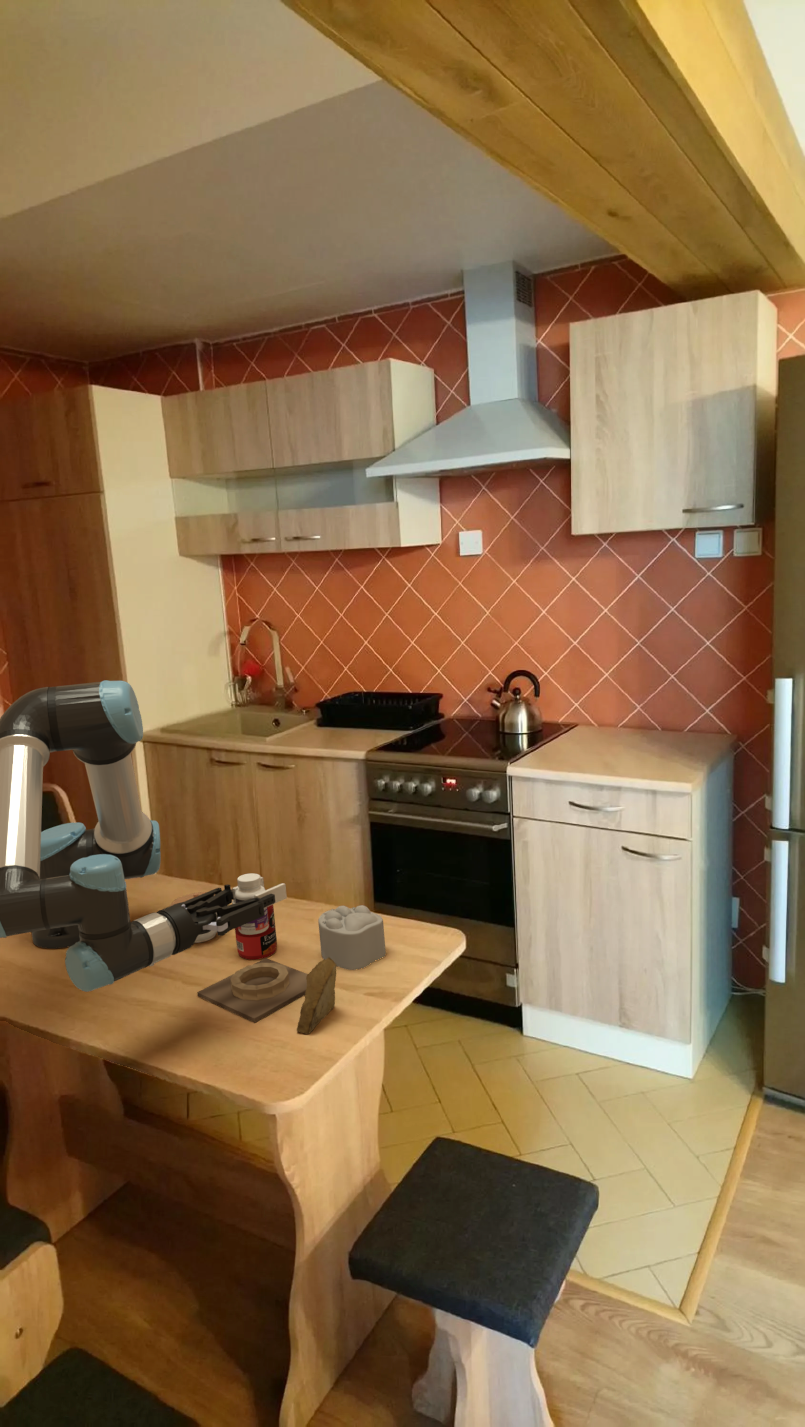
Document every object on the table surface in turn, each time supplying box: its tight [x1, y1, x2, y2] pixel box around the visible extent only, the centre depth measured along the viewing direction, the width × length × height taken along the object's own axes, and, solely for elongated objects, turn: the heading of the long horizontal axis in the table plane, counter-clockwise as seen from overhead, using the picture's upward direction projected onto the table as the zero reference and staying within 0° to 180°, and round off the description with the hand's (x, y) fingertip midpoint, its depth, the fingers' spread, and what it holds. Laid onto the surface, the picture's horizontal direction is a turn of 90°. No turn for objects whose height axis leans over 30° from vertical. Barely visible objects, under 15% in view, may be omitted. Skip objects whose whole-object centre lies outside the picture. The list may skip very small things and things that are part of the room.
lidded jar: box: [169, 891, 217, 944], centre depth 184 cm, size 11×11×9 cm
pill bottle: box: [235, 872, 269, 935], centre depth 156 cm, size 5×5×10 cm
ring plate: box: [196, 957, 308, 1024], centre depth 159 cm, size 16×16×3 cm
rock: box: [296, 957, 337, 1035], centre depth 148 cm, size 11×9×10 cm
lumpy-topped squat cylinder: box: [317, 904, 387, 971], centre depth 171 cm, size 10×13×9 cm
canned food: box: [231, 900, 278, 961], centre depth 174 cm, size 8×8×11 cm
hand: (273, 887), depth 160 cm, fingers closed on pill bottle, 5 cm apart
